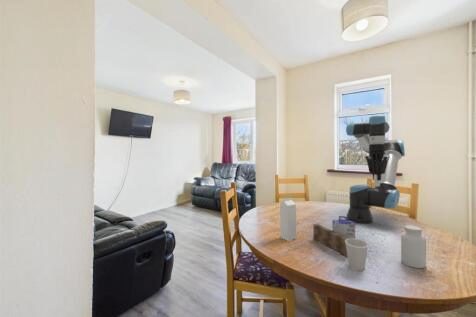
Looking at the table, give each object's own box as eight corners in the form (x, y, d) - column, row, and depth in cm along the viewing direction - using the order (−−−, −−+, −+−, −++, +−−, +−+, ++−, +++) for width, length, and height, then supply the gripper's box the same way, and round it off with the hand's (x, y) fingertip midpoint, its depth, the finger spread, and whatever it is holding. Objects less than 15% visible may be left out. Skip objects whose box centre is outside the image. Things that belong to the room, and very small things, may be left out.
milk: (296, 239, 115) (296, 198, 114) (287, 241, 112) (287, 199, 111) (288, 235, 120) (288, 196, 119) (280, 237, 117) (279, 197, 116)
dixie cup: (358, 260, 91) (358, 237, 91) (373, 271, 83) (373, 246, 82) (340, 262, 90) (340, 239, 90) (353, 273, 82) (353, 247, 81)
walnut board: (313, 239, 114) (313, 224, 114) (317, 238, 115) (317, 223, 114) (347, 258, 93) (346, 240, 93) (351, 257, 94) (351, 239, 94)
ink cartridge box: (353, 245, 106) (353, 216, 105) (356, 250, 100) (356, 219, 100) (332, 243, 109) (331, 214, 108) (333, 247, 104) (333, 218, 103)
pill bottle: (396, 259, 91) (396, 224, 91) (413, 258, 92) (413, 223, 92) (412, 269, 84) (413, 231, 83) (431, 268, 84) (432, 230, 84)
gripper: (361, 144, 124) (361, 184, 125) (383, 143, 112) (383, 188, 112) (371, 144, 126) (371, 183, 127) (393, 143, 114) (393, 187, 115)
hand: (376, 186), depth 120 cm, fingers closed
